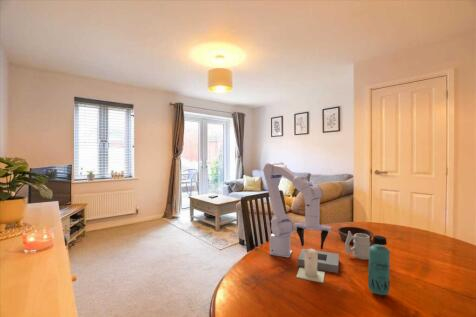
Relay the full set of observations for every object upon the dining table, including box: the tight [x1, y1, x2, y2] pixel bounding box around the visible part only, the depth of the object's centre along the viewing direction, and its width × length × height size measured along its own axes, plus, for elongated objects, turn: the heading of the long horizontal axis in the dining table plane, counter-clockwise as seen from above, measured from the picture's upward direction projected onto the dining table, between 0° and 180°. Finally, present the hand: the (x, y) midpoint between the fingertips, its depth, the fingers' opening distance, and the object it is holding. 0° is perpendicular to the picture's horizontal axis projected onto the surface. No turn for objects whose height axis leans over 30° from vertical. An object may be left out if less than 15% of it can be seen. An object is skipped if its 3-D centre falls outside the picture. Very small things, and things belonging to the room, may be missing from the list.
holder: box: [297, 248, 340, 274], centre depth 106 cm, size 16×12×3 cm
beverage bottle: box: [367, 235, 391, 296], centre depth 83 cm, size 6×7×20 cm
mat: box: [295, 267, 326, 284], centre depth 96 cm, size 10×8×1 cm
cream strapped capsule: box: [303, 248, 319, 277], centre depth 95 cm, size 7×5×9 cm
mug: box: [344, 231, 371, 261], centre depth 112 cm, size 8×12×12 cm, turn 93°
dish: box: [337, 226, 375, 246], centre depth 133 cm, size 17×22×5 cm
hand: (312, 246), depth 101 cm, fingers open, 7 cm apart
